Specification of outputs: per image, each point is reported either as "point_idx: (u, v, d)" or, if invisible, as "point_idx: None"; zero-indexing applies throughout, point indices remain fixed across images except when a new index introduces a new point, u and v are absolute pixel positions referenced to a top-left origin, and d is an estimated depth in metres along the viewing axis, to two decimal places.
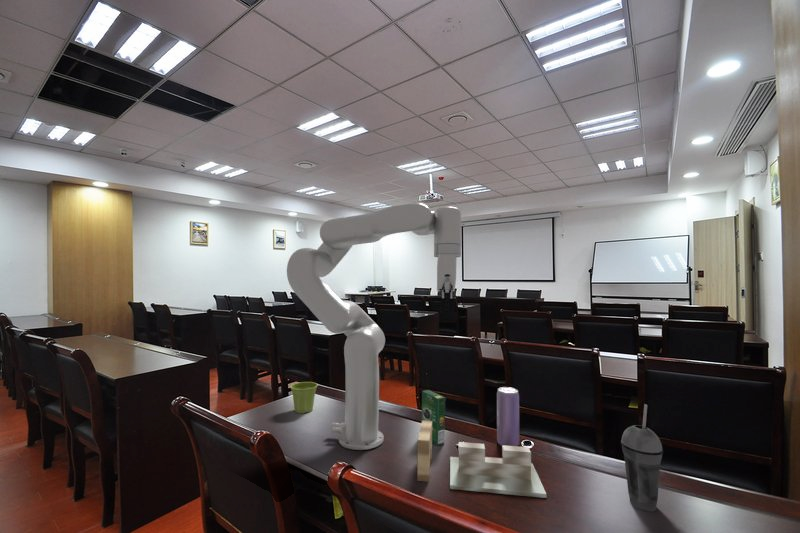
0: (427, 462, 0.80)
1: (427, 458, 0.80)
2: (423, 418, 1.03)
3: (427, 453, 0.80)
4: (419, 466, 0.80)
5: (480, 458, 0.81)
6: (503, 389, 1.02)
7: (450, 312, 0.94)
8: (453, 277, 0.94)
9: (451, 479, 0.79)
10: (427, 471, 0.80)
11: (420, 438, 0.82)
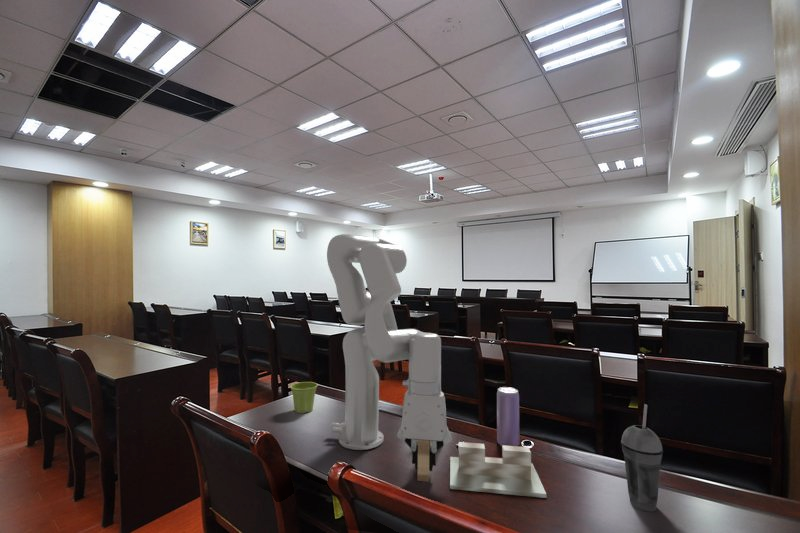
0: (427, 462, 0.80)
1: (427, 458, 0.80)
2: None
3: (427, 453, 0.80)
4: (419, 466, 0.80)
5: (480, 458, 0.81)
6: (503, 389, 1.02)
7: None
8: None
9: (451, 479, 0.79)
10: (427, 471, 0.80)
11: None
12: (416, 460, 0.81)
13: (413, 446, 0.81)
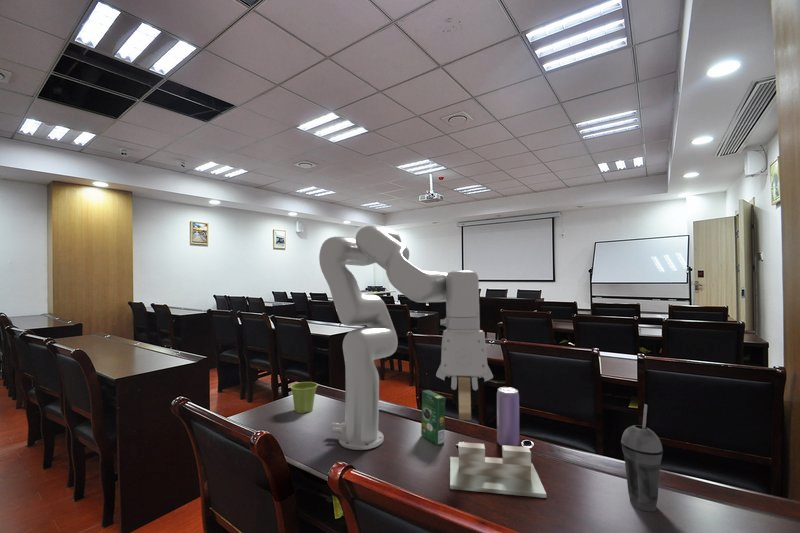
0: (469, 400, 0.78)
1: (468, 396, 0.78)
2: (423, 418, 1.03)
3: (468, 390, 0.78)
4: (460, 404, 0.78)
5: (480, 458, 0.81)
6: (503, 389, 1.02)
7: None
8: None
9: (451, 479, 0.79)
10: (469, 409, 0.78)
11: None
12: (457, 398, 0.79)
13: (453, 384, 0.80)
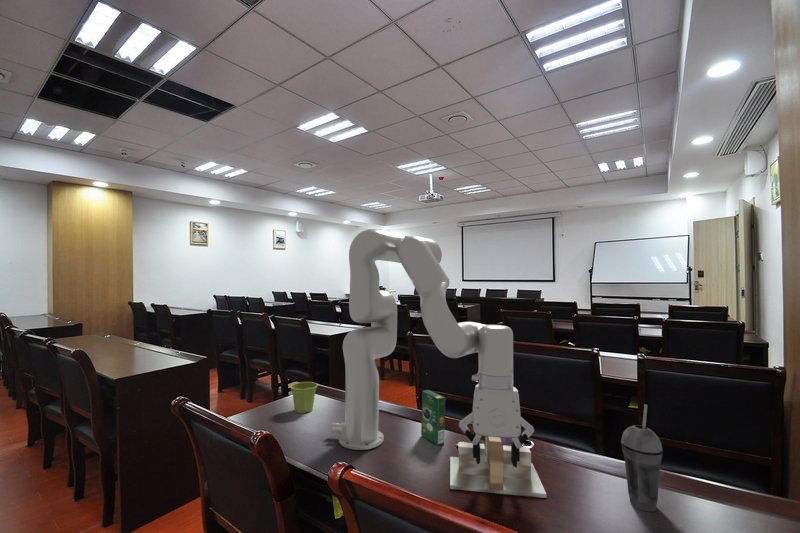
0: (501, 470, 0.76)
1: (501, 465, 0.76)
2: (423, 418, 1.03)
3: (501, 460, 0.76)
4: (492, 474, 0.76)
5: (480, 458, 0.81)
6: None
7: None
8: None
9: (451, 479, 0.79)
10: (501, 479, 0.75)
11: (492, 444, 0.77)
12: (478, 454, 0.78)
13: (474, 439, 0.78)
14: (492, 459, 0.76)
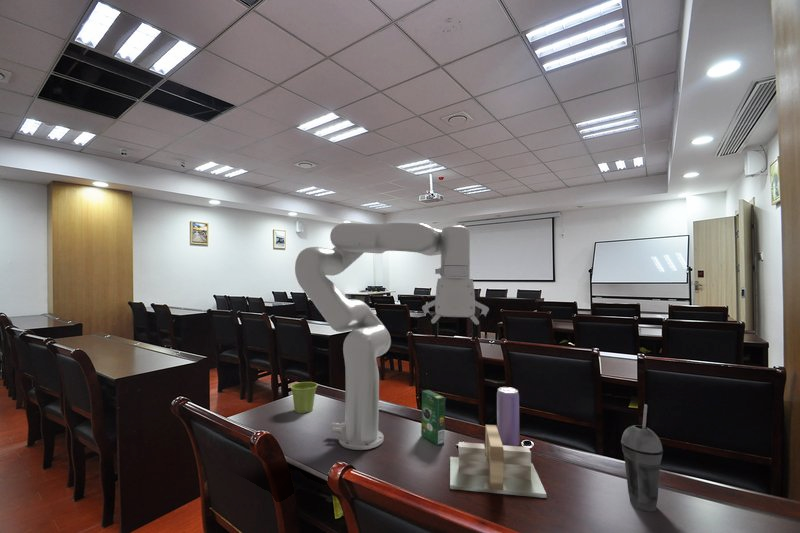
0: (501, 470, 0.76)
1: (501, 465, 0.76)
2: (423, 418, 1.03)
3: (501, 460, 0.76)
4: (492, 474, 0.76)
5: (480, 458, 0.81)
6: (503, 389, 1.02)
7: None
8: None
9: (451, 479, 0.79)
10: (501, 479, 0.75)
11: (492, 444, 0.77)
12: (436, 330, 0.92)
13: (433, 319, 0.92)
14: (492, 459, 0.76)
